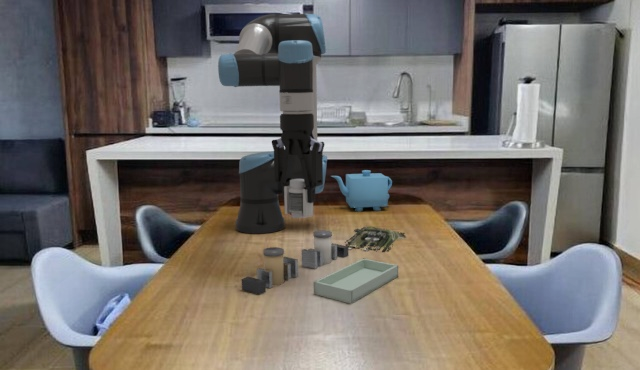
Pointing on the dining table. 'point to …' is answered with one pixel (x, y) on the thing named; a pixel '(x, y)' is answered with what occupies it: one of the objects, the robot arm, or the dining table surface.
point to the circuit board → (374, 238)
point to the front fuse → (274, 264)
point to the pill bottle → (296, 198)
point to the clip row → (290, 268)
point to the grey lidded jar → (323, 244)
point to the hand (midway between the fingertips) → (298, 214)
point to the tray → (355, 280)
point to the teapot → (365, 190)
